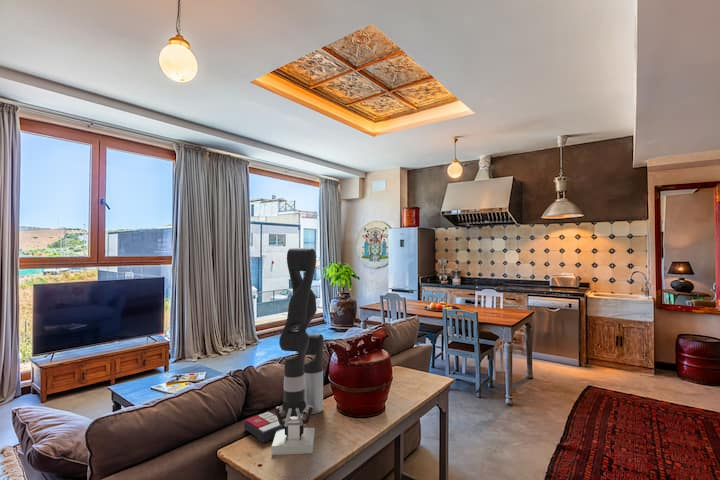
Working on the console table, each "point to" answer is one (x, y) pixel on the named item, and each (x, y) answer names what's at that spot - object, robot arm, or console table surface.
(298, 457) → the console table surface
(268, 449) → the console table surface
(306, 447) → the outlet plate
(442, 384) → the console table surface
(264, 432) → the dark grey product box
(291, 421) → the white rectangular block
